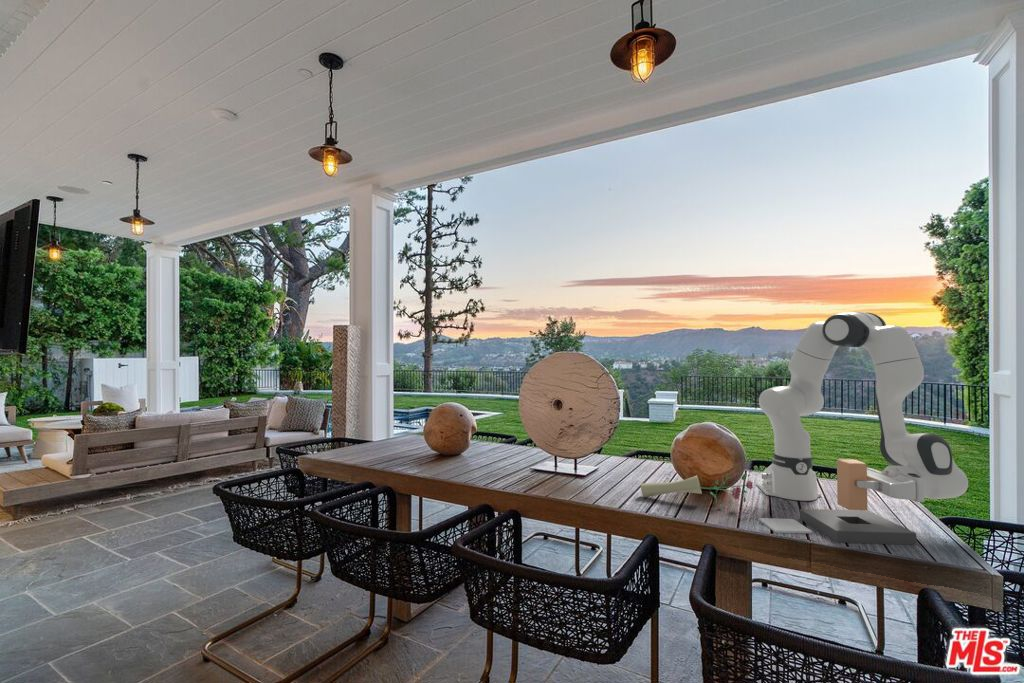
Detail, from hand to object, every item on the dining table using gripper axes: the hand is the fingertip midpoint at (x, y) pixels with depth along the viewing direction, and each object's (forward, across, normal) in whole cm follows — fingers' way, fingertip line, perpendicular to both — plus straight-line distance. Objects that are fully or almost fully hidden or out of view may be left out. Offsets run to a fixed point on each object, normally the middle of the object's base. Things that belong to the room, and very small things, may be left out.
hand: (848, 480), depth 132 cm
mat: (+17, -2, +14) cm, 22 cm away
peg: (-1, 0, +8) cm, 8 cm away
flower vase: (+36, -21, +15) cm, 45 cm away
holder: (-1, 0, +14) cm, 14 cm away
